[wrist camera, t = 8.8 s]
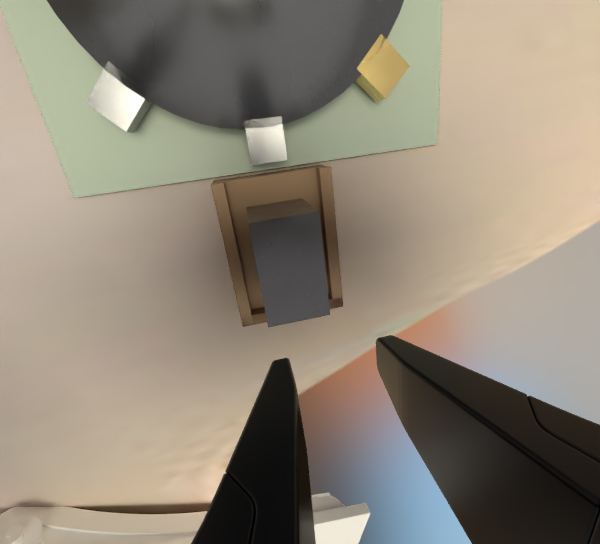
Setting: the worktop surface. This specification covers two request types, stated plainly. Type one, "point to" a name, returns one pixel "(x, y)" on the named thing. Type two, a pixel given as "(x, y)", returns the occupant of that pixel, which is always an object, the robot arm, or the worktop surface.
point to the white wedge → (158, 525)
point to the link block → (289, 260)
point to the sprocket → (234, 59)
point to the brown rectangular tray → (237, 237)
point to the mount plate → (209, 140)
